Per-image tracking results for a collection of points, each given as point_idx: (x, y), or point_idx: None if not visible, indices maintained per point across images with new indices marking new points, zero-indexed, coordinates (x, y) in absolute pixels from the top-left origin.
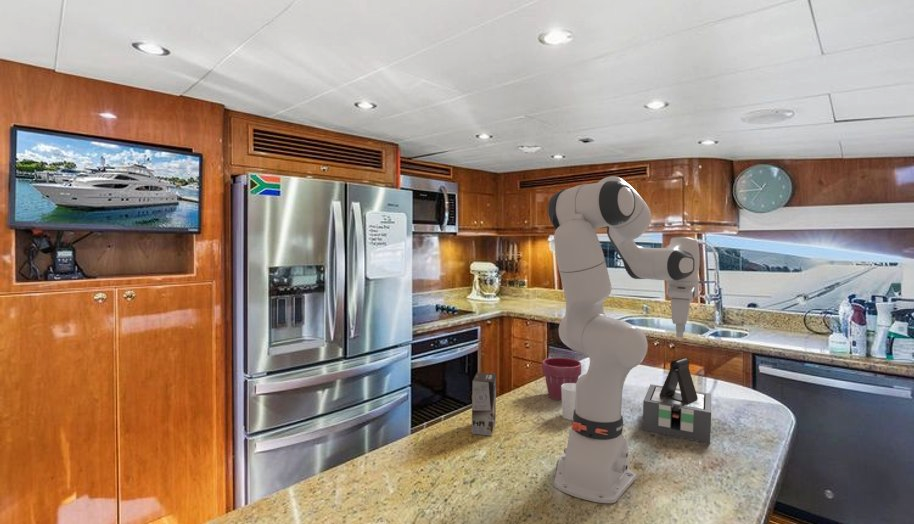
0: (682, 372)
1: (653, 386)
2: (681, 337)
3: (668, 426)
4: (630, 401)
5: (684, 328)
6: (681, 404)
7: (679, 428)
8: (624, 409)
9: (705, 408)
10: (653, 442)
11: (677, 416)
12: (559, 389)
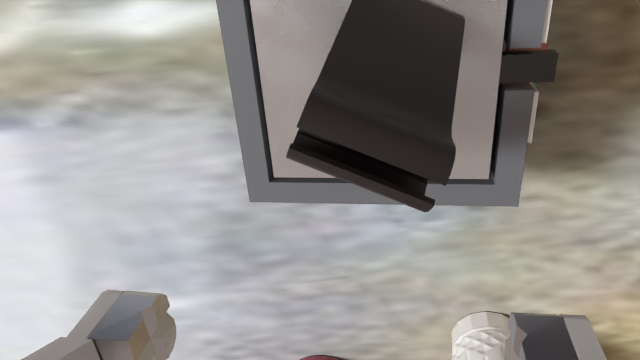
0: (413, 109)
1: (275, 188)
2: (580, 322)
3: None
4: (230, 213)
5: (138, 323)
6: (490, 48)
7: None
8: (324, 220)
9: None
10: (606, 98)
11: (546, 48)
12: None
